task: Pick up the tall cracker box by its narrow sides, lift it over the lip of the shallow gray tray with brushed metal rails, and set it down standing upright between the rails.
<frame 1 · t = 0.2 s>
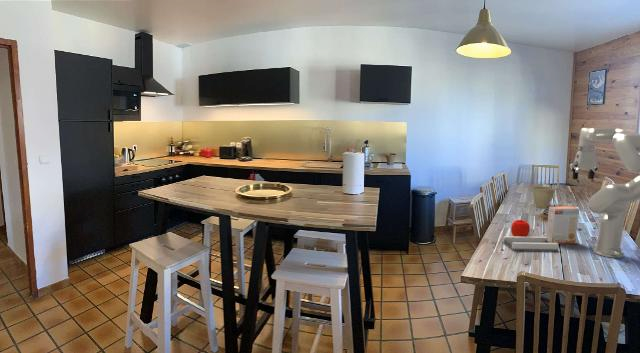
hand: (582, 179, 206), 36 cm above the table, tool pointing down, fingers open, 9 cm apart
shallow gray tray: (529, 246, 199), on the table
plant pot: (541, 207, 287), on the table
apple: (519, 240, 210), on the table
cracker box: (560, 242, 206), on the table
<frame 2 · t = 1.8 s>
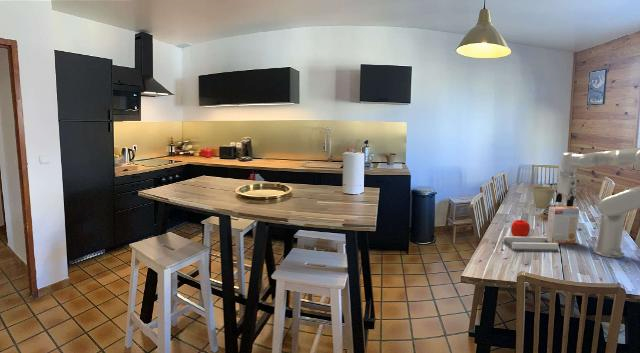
hand: (563, 204, 203), 23 cm above the table, tool pointing down, fingers open, 9 cm apart
nothing on the table moved.
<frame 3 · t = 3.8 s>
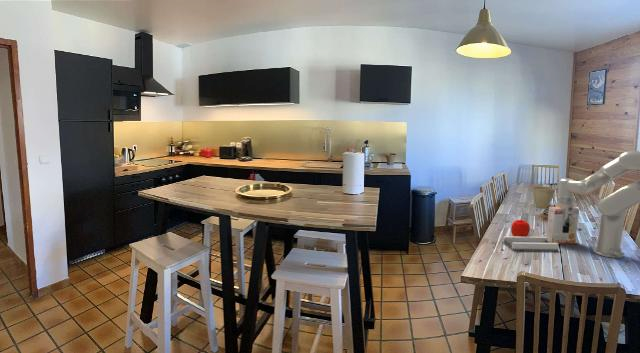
hand: (561, 230, 205), 7 cm above the table, tool pointing down, fingers closed on cracker box, 6 cm apart
cracker box: (560, 242, 206), on the table, touching gripper
everything else where it was.
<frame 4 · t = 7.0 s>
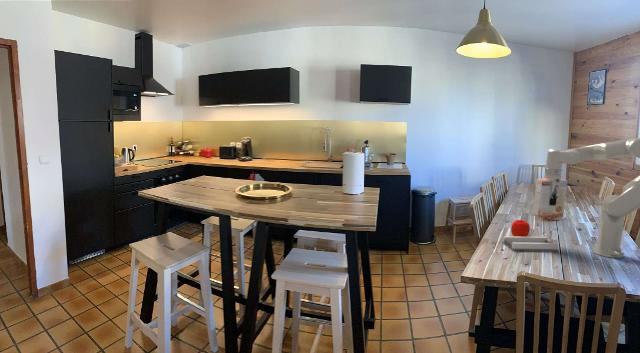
hand: (548, 203, 199), 24 cm above the table, tool pointing down, fingers closed on cracker box, 6 cm apart
cracker box: (547, 216, 200), point 17 cm above the table, touching gripper
everything else where it was.
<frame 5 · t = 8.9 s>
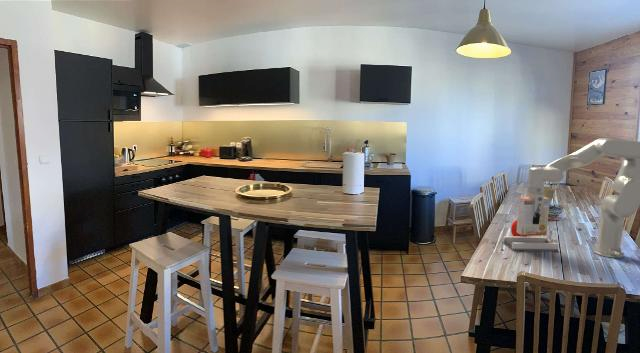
hand: (532, 221, 196), 14 cm above the table, tool pointing down, fingers closed on cracker box, 6 cm apart
cracker box: (530, 234, 197), point 7 cm above the table, touching gripper
everything else where it was.
when the fingers open (10 cm above the table, at t = 10.4 s): cracker box drops 2 cm, resting on shallow gray tray.
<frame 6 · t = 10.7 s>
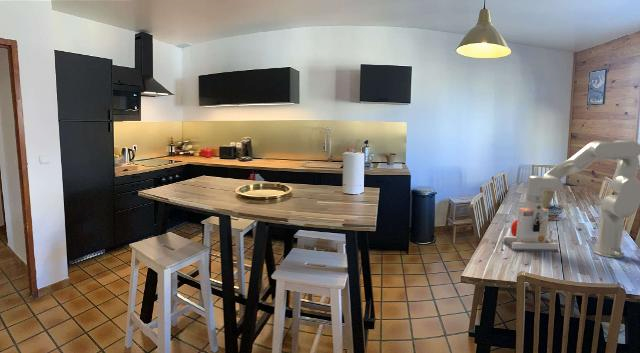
hand: (531, 228, 197), 10 cm above the table, tool pointing down, fingers open, 8 cm apart
cracker box: (529, 245, 199), point 1 cm above the table, touching shallow gray tray
everything else where it was.
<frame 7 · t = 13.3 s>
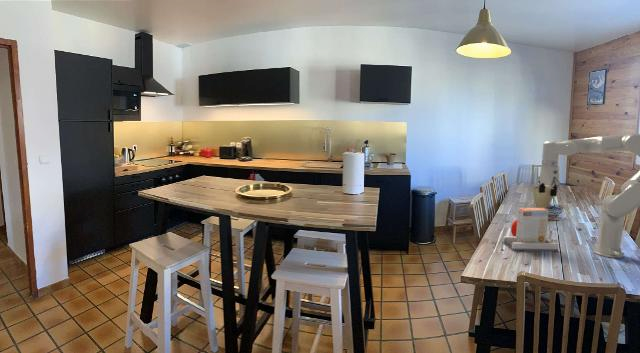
hand: (547, 194, 198), 29 cm above the table, tool pointing down, fingers open, 9 cm apart
nothing on the table moved.
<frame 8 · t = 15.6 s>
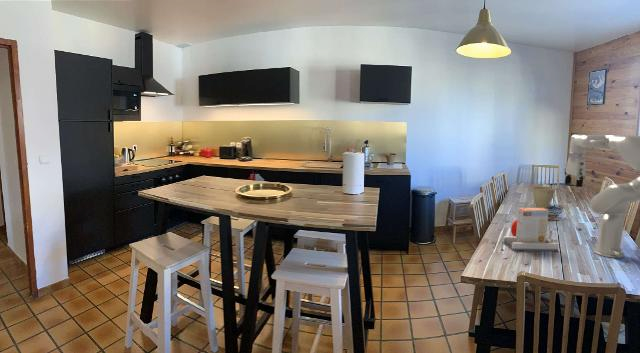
hand: (573, 185, 208), 32 cm above the table, tool pointing down, fingers open, 9 cm apart
nothing on the table moved.
at the end: cracker box inside the target area on the shallow gray tray (0.2 cm from its centre), point 0.8 cm above the shallow gray tray's base; cracker box tilted 0°; the gripper is holding nothing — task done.
